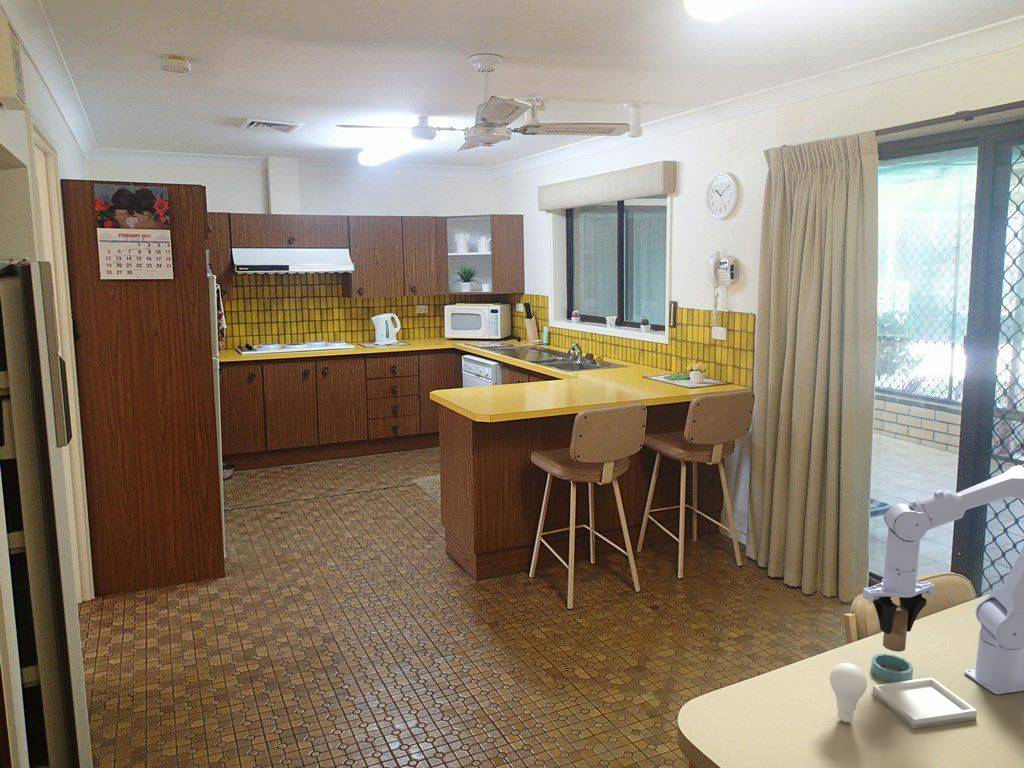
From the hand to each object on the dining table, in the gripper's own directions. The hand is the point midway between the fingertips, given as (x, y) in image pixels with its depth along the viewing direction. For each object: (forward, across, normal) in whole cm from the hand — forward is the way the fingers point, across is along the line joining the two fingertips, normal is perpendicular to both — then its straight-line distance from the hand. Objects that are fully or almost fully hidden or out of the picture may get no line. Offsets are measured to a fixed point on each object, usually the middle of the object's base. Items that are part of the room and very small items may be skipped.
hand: (895, 630), depth 150 cm
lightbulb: (+10, +19, +12) cm, 24 cm away
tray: (+9, +2, +11) cm, 15 cm away
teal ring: (+9, 0, 0) cm, 9 cm away
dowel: (+3, 0, 0) cm, 3 cm away
